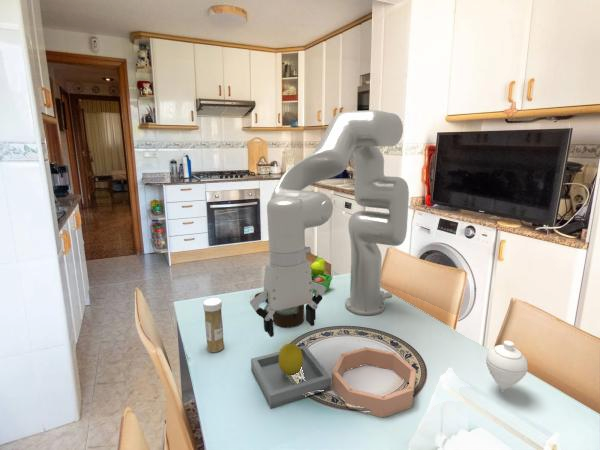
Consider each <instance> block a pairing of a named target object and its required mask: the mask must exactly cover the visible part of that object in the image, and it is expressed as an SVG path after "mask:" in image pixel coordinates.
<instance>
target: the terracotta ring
mask: <svg viewBox="0 0 600 450" xmlns="http://www.w3.org/2000/svg"><path fill="white" fill-rule="evenodd" d="M364 364H366V365H367V364H369V365H368V366H371V365H373V366H372V367H376V366H377V368H381V369H386V370H391V371H393V372H394V373H395V374H396V375H398V376H399V377H400V378H401V379H402V380H403V379H404V380H406V381H407V382H409V384H408V386H407V387H406V388H403V389H400V390H397V391H394V392H392V393H389V394H386V395H378V394H375V393H370V392H367V391H363V390H358V389H355V388H352V387H351V385H350V384H349V383H348V382H347V381H346V380H345V379H344V377H343V375H344V372H345V370H346V371H348V369H349V370H352V369H351V368H353V369H355V367H356V368H358V366H359V367H361V366H360V365H363V366H365V365H364ZM416 373H417V369H416V368H415V367H413V366H412V365H411V364H410V363H408V362H407V361H406V360H405V359H404V358H402V357H401V356H400V355H399V354H398V353H396V352H392V351H388V350H387V351H386V350H383V349H377V348H373V347H372V348H371V347H367V346H366V347H362V348H358V349H355V350H352V351H347V352H343V353H341V354H340V355H339V356H338V359H337V361H336V362H335V365H334V367H333V368H332V371H331V389H333V391H334V392H335V393H336V395H339V396H340V397H342V398H343V399H344V400H345V401H346V402H347V403H348V404H351V405H356V406H360V407H364V408H367V409H370V410H372V411H370V412H366V413H365V414H369V415H372V416H377V417H380V418H387V417H389V416H391V415H394V414H397V413H400V412H402V411H404V410H405V411H406V410H408V409H411V408H412V407H413V403H414V402H413V401H414V396H413V395H415V389H414V387H416V378H417V377H416V375H417V374H416ZM342 374H343V375H342ZM404 380H403V381H404ZM339 396H338V397H339ZM340 397H339V398H340Z"/></svg>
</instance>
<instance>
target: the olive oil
mask: <svg viewBox="0 0 600 450" xmlns="http://www.w3.org/2000/svg"><path fill="white" fill-rule="evenodd" d="M272 320H273V324H275V326H278V327H281V328H287V329H288V328H295V327H298V326H300V325H301V324H303V322H304V321H305V304H304V305H300V306H296V307H291V308H287V309H283V310H278V311H275V313H274V314H273V316H272Z"/></svg>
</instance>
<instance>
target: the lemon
mask: <svg viewBox="0 0 600 450" xmlns="http://www.w3.org/2000/svg"><path fill="white" fill-rule="evenodd" d="M279 352H280V353H279V366H280V368H281V370H282V371H283V372H284V373H285V374H287V375H294V374H296V373H298V372H299V371H300V369H301V367H302V365H303V355H302V352H301V349H300V348H299V346H298V345H297V344H296V343H292V342H290V343H287V344H285V345H283V346H282V347H281V348H280V350H279Z"/></svg>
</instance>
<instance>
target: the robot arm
mask: <svg viewBox="0 0 600 450" xmlns="http://www.w3.org/2000/svg"><path fill="white" fill-rule="evenodd" d="M403 133H404V125H403V121H402V119H401V117H400V116H399V115H398V114H396V113H393V112H388V111H382V110H376V109H374V110H373V109H371V110H370V109H369V110H367V109H366V110H351V111H350V110H349V111H348V110H347V111H342V112H339V113H337V114H335V115H334V117H333V118H332V119H331V120H330V122H329V124H328V126H327V128H326V129H325V131H324V133H323V135H322V137H321V139H320V141H319V142H318V144H317V146H316V147H315V150H314V151H313V152H312V153H310V154H309V155H307V156H305V157H304V158H302V159H300V160H299V161H298V162H297V163H295V164H294V165H292V166H291V167H290V168H288V169H287V171H285V172H284V174H283V175H282V176H281V178H280V179H279V181H278V182H277V184H276V186H275V188H274V190H273V192H272V194H271V197H270V200H269V201H268V202H267V205H266V213H267V216H266V217H267V218H266V219H267V236H268V250H269V252H268V253H269V261H267V262H266V263H265V267H264V277H263V278H264V279H263V291H262V292H261V293H259V294H257V295H256V296H255V297H254V298H252V299H251V300H250V301H249V304H250V306H251V307H252V309H253V310H254V311H255V313H256V314H257V315H258V316H259V317H261V318H262V319H263V329H264V332H265V333H267V334H268V336H269V337H270V338H272V337H275V331H274V330H275V329H274V322H273V314H274V313H275V311H278V310H283V309H287V308H291V307H296V306H300V305H304V306H305V321H306V322H307V323H308V324H309V325H310V326H311V327H314V326H315V320H316V317H317V316H316V310H317V309H318V305H319V304H320V303H321V301H322V300H323V296H324V294H325V293H326V292H325V290H326V288H325V287H324V286H323V285H320V284H317V283H314V282H312V277H311V267H310V266H311V265H310V263H309V260H308V259H307V255H308V254H311V252H312V249H311V247H310V246H306V241H305V239H306V238H305V230H306V229H310V228H317V227H319V226H323V225H324V224H326V223H328V221H329V220H330V218H331V216H332V214H333V209H334V207H333V201H332V200H331V198H330V197H329V196H328V195H327V194H326V193H323V192H320V191H313V190H312V191H311V190H304V189H306V188H307V187H309V186H310V185H313V184H315V183H318V182H322V181H324V180H328V179H331V178H334V177H336V176H338V175H340V174H342V173H343V172H344V171H345V169H346V168H347V166H348V164H349V162H350V159H351V158H352V155H353V160H354V190H353V191H354V201H355V202H356V204H357V205H358V206H360V207H366V208H373V209H384V210H388V212H389V213H388V212H381V211H373V210H359V211H355V212H354V213H353V214H351V216H350V217H349V219H348V225H347V226H348V235H349V239H350V240H349V241H350V288H349V291H350V293H349V297H348V298H347V299H346V300H345V302H344V303H345V304H344V306H345V308H346V310H348V311H349V312H351V313H353V314H356V315H362V316H373V315H377V314H380V313H382V312H384V310H385V302H384V301H385V299H392V298H393V293H392V292H391V291H389V292H385V291H384V290H381V285H382V284H381V283H382V282H381V281H382V280H381V279H382V278H381V277H382V253H381V250H380V248H379V246H378V245H385V246H390V247H398V246H401V245H402V244H404V242H405V240H406V237H407V232H408V231H407V230H408V217H409V203H410V201H409V200H410V197H409V196H410V194H409V193H410V192H409V186H408V183H407V181H406V180H405V179H404V178H402V177H400V176H389V175H388V176H387V175H385V172H384V171H385V158H384V155H383V153H382V151H381V150H380V148H379V147H395V146H396V145H397V144H399V143H400V141H401V140H402V137H403ZM377 244H378V245H377ZM313 289H315V290H317V293H314V292H313ZM263 302H264V303H265V305H264V307H263V308H262V307H260V305H261V304H262V303H263Z"/></svg>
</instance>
